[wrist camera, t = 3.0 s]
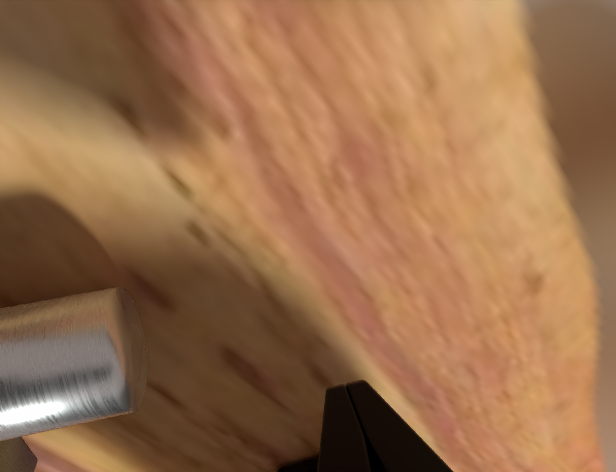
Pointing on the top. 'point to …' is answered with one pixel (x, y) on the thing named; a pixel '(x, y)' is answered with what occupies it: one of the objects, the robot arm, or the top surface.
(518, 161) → the top surface
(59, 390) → the axle
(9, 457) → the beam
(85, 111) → the top surface
